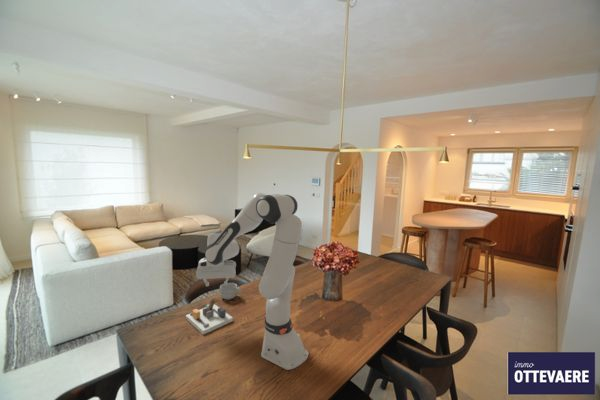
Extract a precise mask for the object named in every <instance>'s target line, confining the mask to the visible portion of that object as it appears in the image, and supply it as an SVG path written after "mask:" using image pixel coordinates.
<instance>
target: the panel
mask: <svg viewBox="0 0 600 400" xmlns="http://www.w3.org/2000/svg"><path fill="white" fill-rule="evenodd" d="M218 308H220V306H218V305H217V304H215V303H214V306H213V308H212V310H211V311H208V312H207V314H206V313H205V312H206V311H207V309H208V307H207V308H206V306H205V307H204V308H203V307H202V308H200V309H198V310H199V311H200V318H198V319H195V318H194V317H192V312H189V313H188V314H186V315H185V320H187V322H189V323H190V324H191V325H192V326H193V327H194V328H195V329H197V330H198V332H200V333H201V334H202V335H204V336H205V334H208V333H210V332H212V331H214V330H217V329H219V328H221V327H223V326H225V325H227V324H229V323H231V322H233V321H234V317H233V316H231V315H230V313H227V312H226V316H224V317H222V318H221V317H220V316H219V315H218Z"/></svg>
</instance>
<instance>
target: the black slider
mask: <svg viewBox="0 0 600 400" xmlns="http://www.w3.org/2000/svg"><path fill="white" fill-rule="evenodd" d="M226 311H227V310H226V309H225V308H224V307H222V306H221V307H219V308H218V315H219V316H220V317H221V318H222V317H224V316H226V313H227V312H226Z"/></svg>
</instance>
